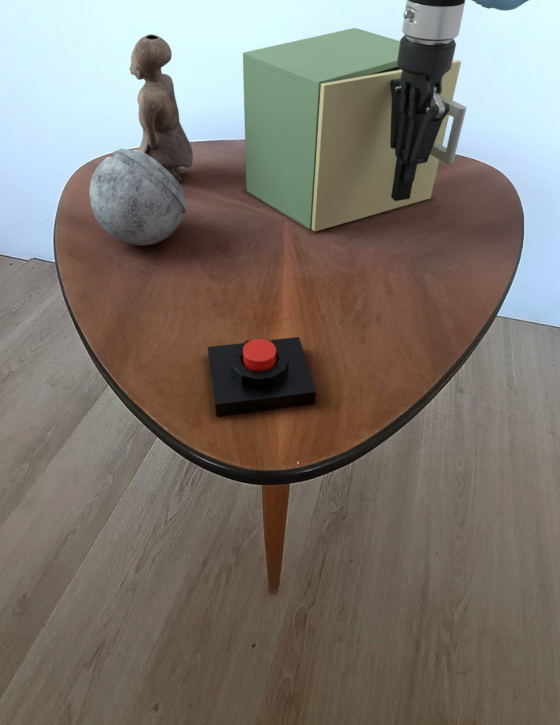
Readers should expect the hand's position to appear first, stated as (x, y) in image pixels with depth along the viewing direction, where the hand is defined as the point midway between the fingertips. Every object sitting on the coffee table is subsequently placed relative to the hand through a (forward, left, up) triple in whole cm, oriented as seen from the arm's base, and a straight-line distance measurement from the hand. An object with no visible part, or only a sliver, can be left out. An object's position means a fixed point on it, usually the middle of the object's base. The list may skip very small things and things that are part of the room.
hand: (400, 197), depth 91 cm
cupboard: (+8, -18, -7) cm, 20 cm away
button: (+29, +31, -3) cm, 43 cm away
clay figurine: (+38, -27, -7) cm, 46 cm away
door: (+1, -4, -6) cm, 8 cm away
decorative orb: (+43, -5, -7) cm, 43 cm away
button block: (+29, +31, -7) cm, 43 cm away
